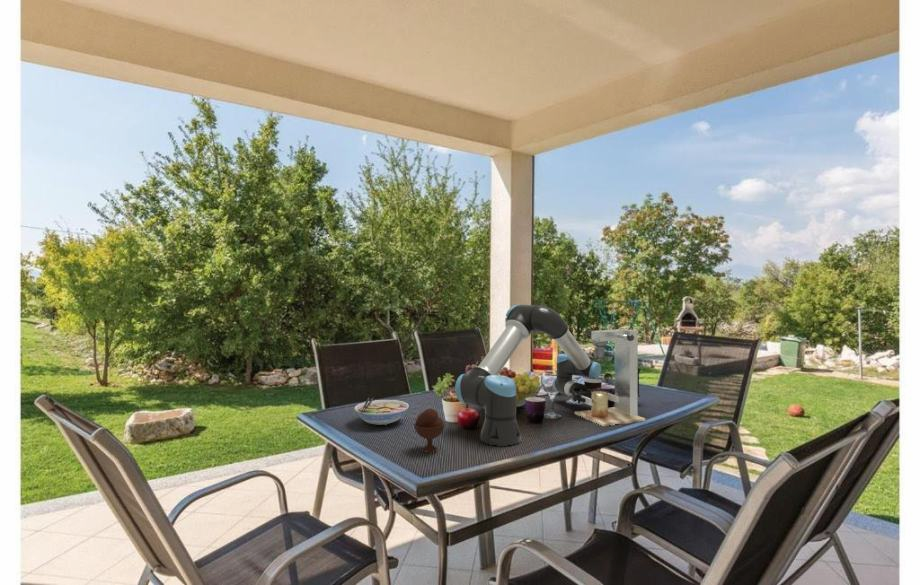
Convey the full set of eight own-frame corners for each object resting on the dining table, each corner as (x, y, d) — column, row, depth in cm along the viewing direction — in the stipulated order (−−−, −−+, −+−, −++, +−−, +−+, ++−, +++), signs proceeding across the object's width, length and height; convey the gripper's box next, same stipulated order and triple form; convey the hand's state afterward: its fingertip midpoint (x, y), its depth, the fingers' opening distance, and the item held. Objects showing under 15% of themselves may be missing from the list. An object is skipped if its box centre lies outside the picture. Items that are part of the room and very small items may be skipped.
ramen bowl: (405, 432, 184) (405, 412, 184) (348, 433, 184) (347, 412, 184) (411, 415, 209) (411, 396, 209) (361, 415, 209) (360, 397, 209)
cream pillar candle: (597, 418, 198) (597, 395, 197) (588, 414, 204) (588, 392, 204) (611, 417, 200) (611, 394, 200) (601, 413, 207) (601, 390, 206)
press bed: (602, 426, 191) (602, 423, 191) (574, 414, 209) (574, 411, 209) (645, 420, 198) (645, 418, 198) (615, 409, 217) (615, 406, 217)
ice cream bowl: (451, 449, 165) (451, 407, 165) (429, 458, 157) (428, 413, 157) (430, 442, 172) (430, 402, 172) (407, 450, 164) (407, 408, 164)
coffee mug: (600, 398, 237) (600, 379, 237) (603, 403, 229) (603, 382, 228) (576, 398, 238) (576, 378, 238) (579, 402, 230) (579, 382, 230)
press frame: (611, 424, 190) (611, 334, 190) (587, 413, 206) (587, 330, 205) (648, 419, 197) (648, 332, 196) (622, 409, 212) (622, 328, 212)
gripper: (598, 396, 223) (628, 406, 203) (552, 400, 215) (579, 412, 195) (598, 380, 223) (628, 389, 203) (552, 384, 214) (579, 394, 195)
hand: (604, 400), depth 199 cm, fingers open, 13 cm apart
